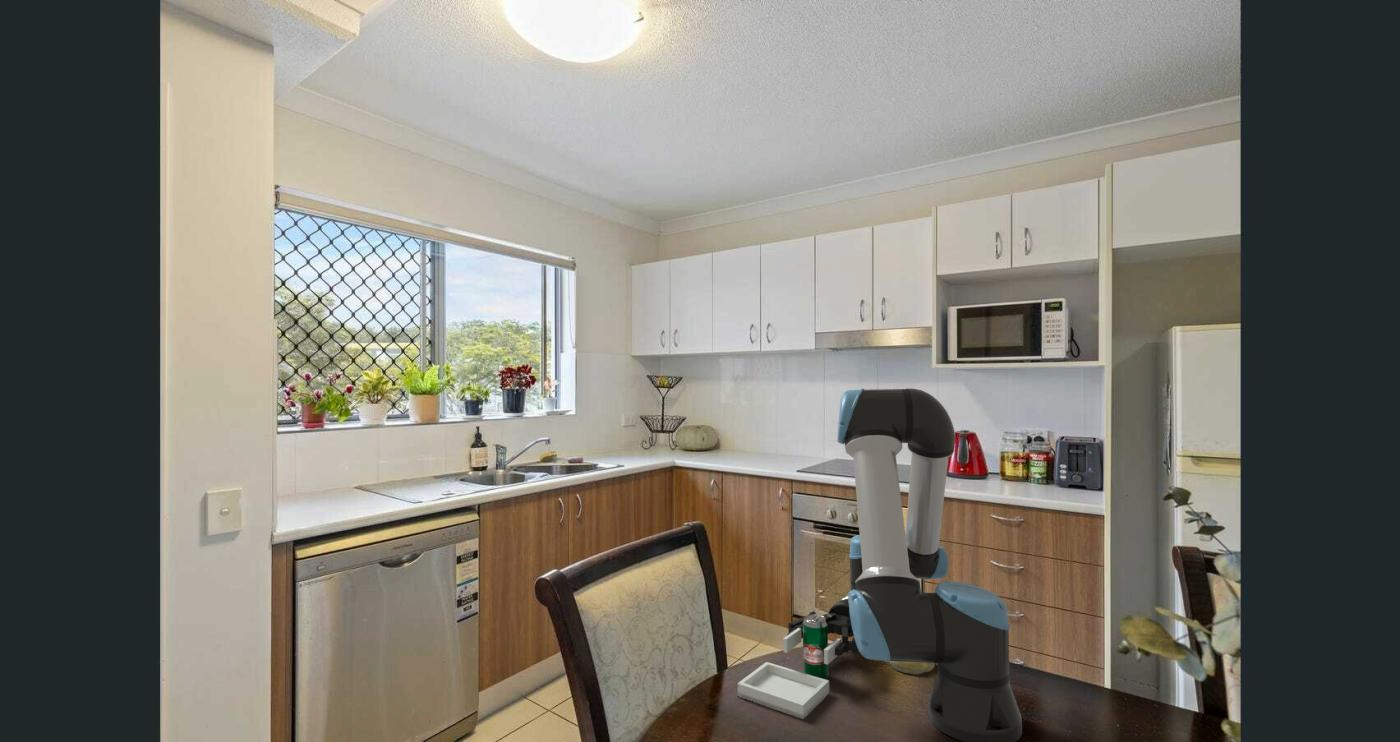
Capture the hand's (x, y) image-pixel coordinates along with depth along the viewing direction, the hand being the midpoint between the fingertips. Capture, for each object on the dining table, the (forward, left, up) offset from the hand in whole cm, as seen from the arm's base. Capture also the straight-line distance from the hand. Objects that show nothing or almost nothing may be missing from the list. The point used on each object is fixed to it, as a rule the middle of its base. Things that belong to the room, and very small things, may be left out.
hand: (804, 651), depth 122 cm
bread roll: (-14, -21, -7) cm, 26 cm away
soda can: (0, -5, -7) cm, 9 cm away
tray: (+2, +5, -7) cm, 9 cm away
